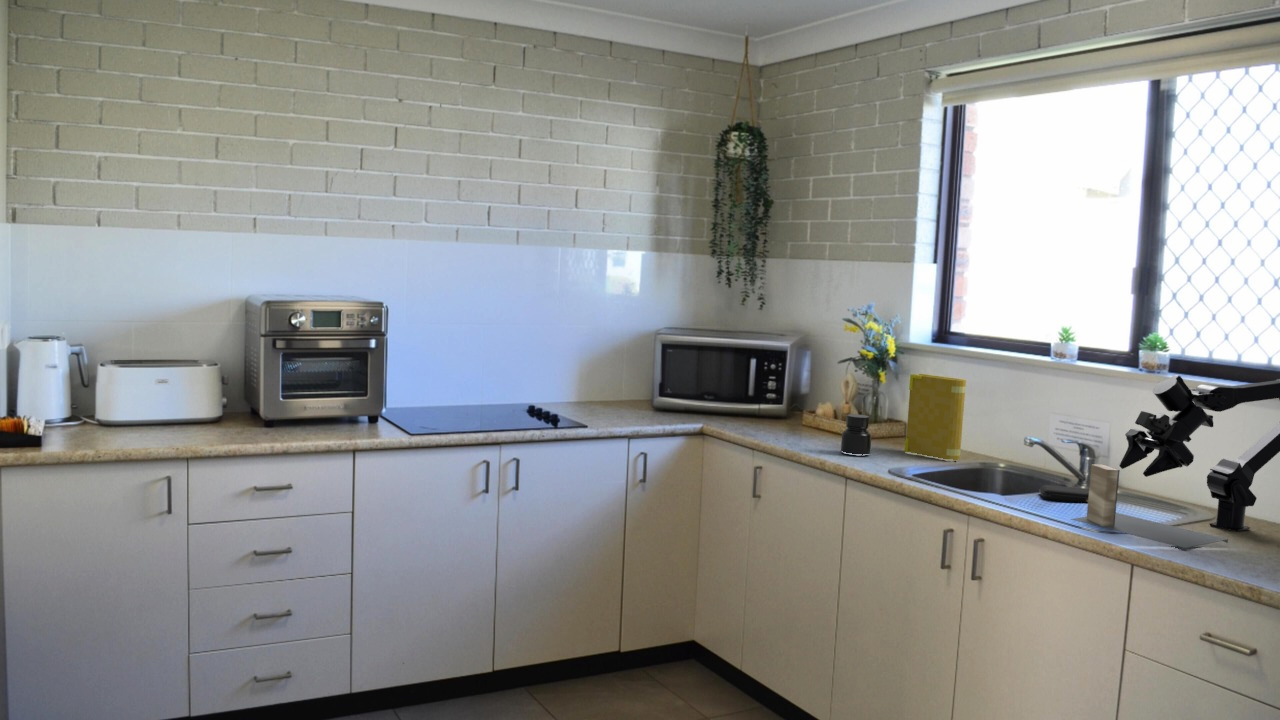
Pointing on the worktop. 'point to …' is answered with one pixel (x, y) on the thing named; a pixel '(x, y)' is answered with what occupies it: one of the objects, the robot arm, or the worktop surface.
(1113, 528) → the mat
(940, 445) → the book
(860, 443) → the ink bottle
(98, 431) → the worktop surface
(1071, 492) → the carrying case or bag
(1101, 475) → the tan wooden block
